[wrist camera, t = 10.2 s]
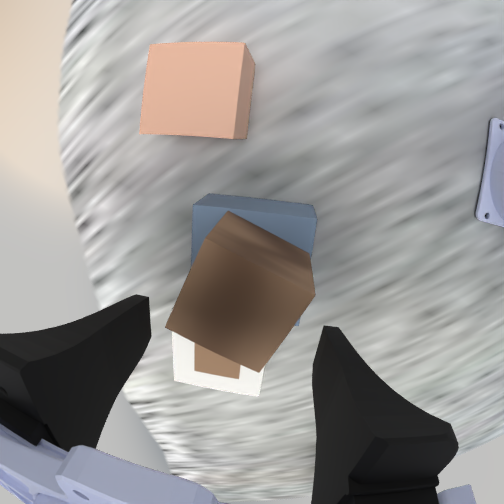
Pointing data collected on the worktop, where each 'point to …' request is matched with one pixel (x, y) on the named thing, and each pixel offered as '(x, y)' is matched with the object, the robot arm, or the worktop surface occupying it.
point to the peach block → (198, 89)
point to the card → (212, 369)
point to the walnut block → (243, 292)
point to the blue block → (256, 219)
